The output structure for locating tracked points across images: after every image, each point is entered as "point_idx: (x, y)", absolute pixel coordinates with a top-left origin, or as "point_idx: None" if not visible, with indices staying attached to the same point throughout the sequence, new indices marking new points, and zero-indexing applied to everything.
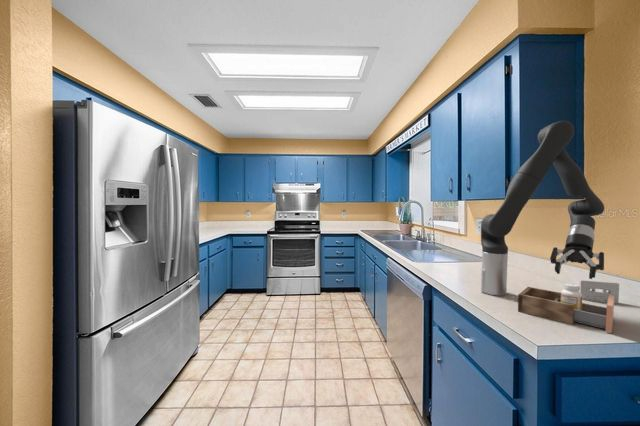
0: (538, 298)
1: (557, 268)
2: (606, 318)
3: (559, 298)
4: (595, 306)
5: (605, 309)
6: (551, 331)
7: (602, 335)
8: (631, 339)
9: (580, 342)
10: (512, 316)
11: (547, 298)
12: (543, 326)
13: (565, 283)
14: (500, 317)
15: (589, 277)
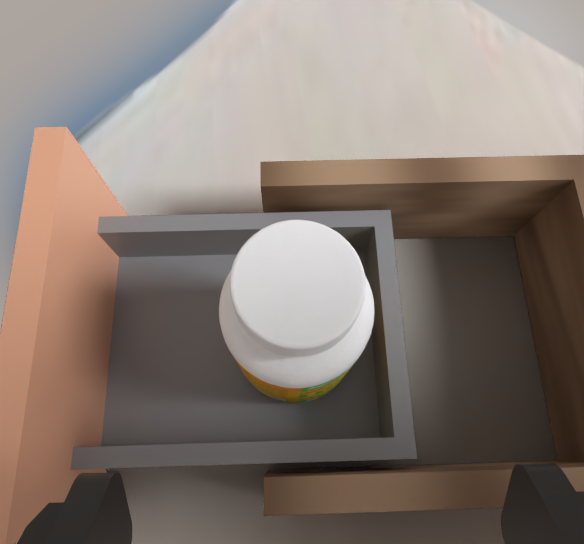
0: (466, 159)
1: (568, 495)
2: (102, 179)
3: (394, 457)
4: (152, 445)
5: (93, 447)
6: (322, 57)
7: (144, 171)
8: None
9: (216, 27)
10: (509, 113)
11: (475, 467)
12: (362, 90)
13: (357, 293)
14: (537, 59)
15: (123, 502)
